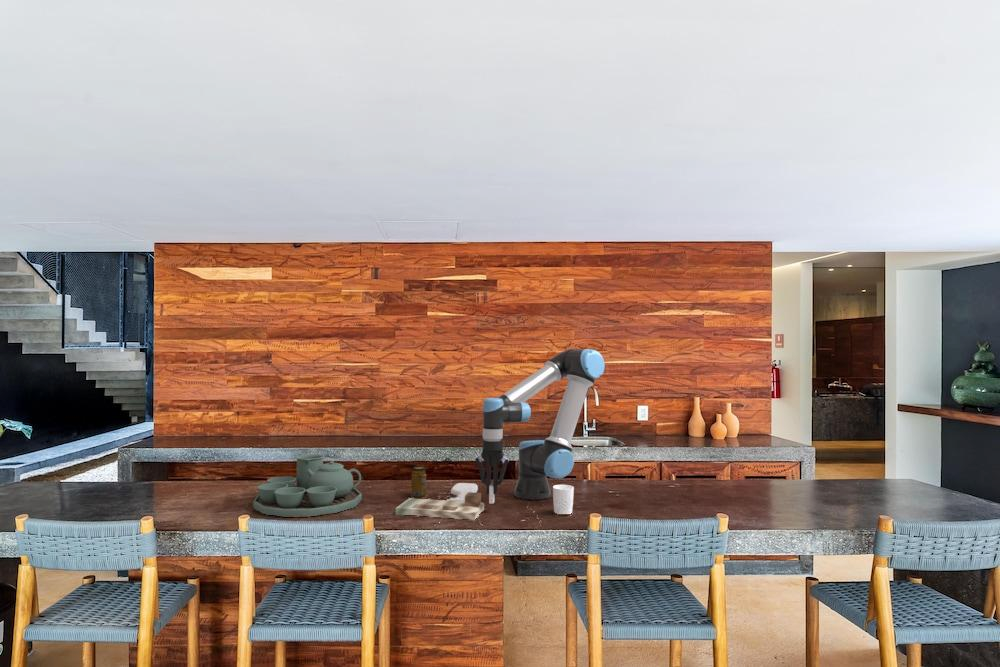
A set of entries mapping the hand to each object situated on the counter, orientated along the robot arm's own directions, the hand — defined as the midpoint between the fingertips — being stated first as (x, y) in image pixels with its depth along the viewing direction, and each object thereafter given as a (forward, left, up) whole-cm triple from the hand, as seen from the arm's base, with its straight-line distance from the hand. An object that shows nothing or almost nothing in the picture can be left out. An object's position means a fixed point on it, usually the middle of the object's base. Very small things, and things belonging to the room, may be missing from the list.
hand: (491, 502), depth 229 cm
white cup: (-26, -5, -4) cm, 27 cm away
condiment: (+34, -16, -4) cm, 38 cm away
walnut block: (+7, 0, -1) cm, 7 cm away
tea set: (+72, +5, -4) cm, 72 cm away
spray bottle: (+17, -23, -4) cm, 29 cm away
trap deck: (+19, +3, -4) cm, 19 cm away
